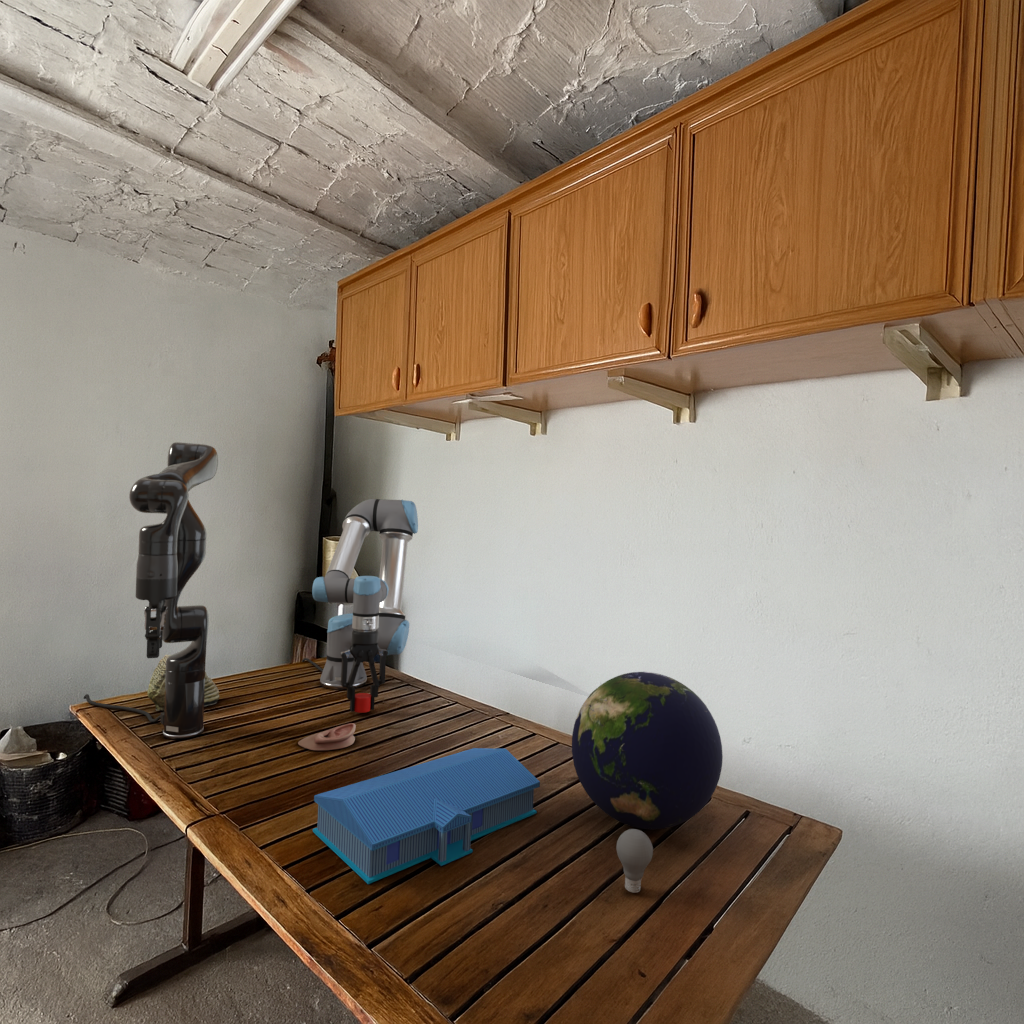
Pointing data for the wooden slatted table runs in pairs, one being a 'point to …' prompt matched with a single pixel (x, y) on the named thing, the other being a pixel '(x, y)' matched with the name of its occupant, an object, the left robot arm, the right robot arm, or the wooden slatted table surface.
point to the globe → (647, 750)
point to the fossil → (158, 687)
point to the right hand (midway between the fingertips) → (361, 709)
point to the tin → (362, 702)
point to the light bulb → (634, 857)
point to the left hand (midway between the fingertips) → (154, 652)
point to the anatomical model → (330, 738)
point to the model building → (424, 811)
